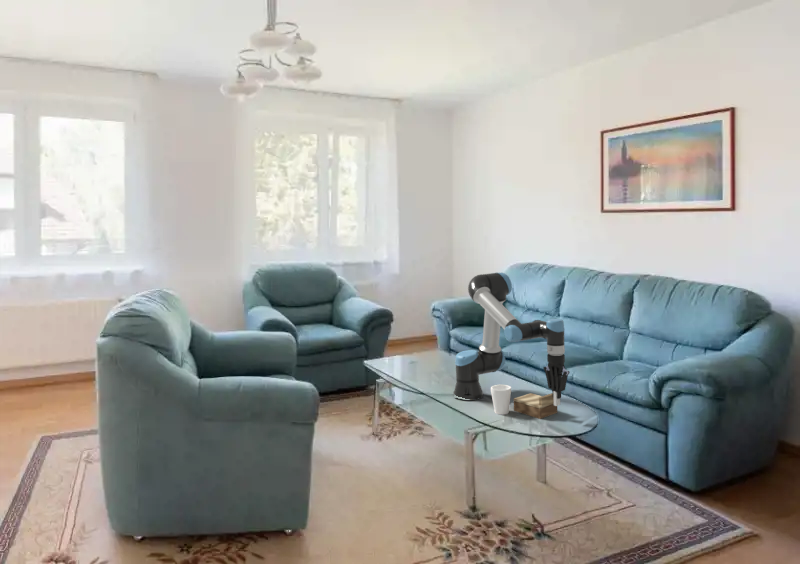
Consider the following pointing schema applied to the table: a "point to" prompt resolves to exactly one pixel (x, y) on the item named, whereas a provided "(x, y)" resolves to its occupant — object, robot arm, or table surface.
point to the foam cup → (501, 398)
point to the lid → (536, 400)
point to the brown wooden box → (535, 410)
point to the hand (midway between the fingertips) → (557, 404)
